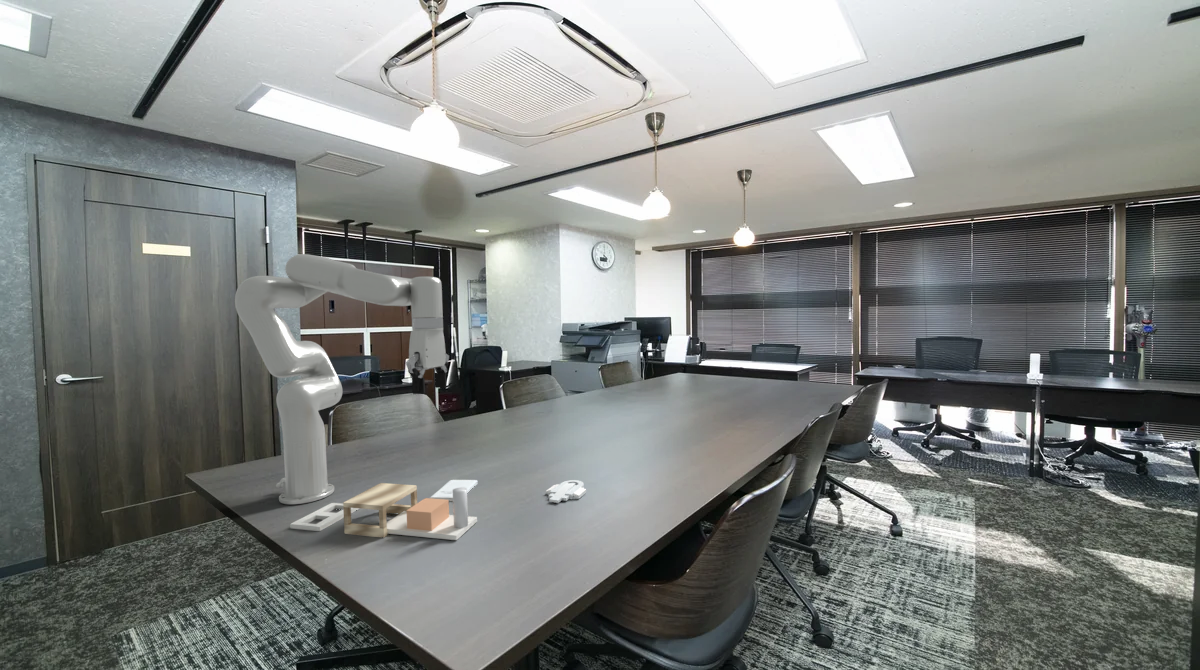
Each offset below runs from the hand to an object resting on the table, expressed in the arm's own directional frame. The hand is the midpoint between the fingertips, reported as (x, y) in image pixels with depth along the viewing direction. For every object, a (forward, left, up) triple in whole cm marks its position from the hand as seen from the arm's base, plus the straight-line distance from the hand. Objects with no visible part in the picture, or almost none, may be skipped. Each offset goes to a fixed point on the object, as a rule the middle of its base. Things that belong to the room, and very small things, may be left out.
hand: (430, 390), depth 120 cm
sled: (+9, -16, -28) cm, 34 cm away
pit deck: (-18, -16, -28) cm, 37 cm away
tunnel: (-3, -16, -28) cm, 33 cm away
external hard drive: (+3, +5, -29) cm, 30 cm away
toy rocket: (+34, +10, -29) cm, 46 cm away
